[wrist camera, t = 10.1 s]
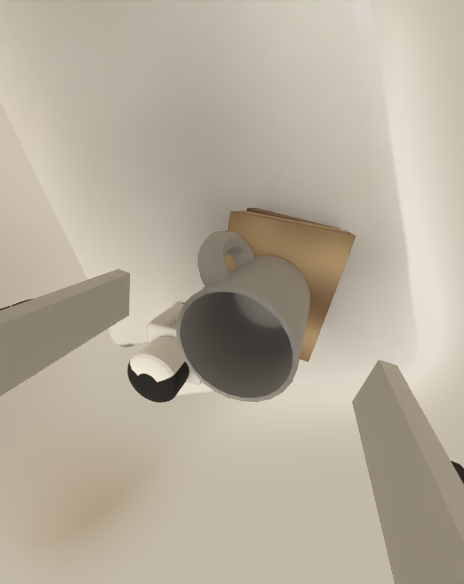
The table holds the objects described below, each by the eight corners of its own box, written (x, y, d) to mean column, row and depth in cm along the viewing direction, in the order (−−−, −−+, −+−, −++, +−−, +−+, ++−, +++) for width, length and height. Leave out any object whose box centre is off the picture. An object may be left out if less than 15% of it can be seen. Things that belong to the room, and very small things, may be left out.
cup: (249, 336, 23) (207, 405, 15) (207, 243, 21) (134, 265, 13) (323, 320, 19) (319, 397, 11) (279, 206, 17) (239, 207, 10)
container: (219, 353, 37) (179, 420, 25) (177, 342, 39) (122, 400, 27) (222, 310, 34) (178, 363, 22) (176, 301, 36) (114, 346, 24)
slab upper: (245, 211, 24) (230, 211, 19) (345, 230, 21) (355, 236, 17) (227, 311, 28) (212, 330, 24) (308, 335, 26) (308, 361, 22)
